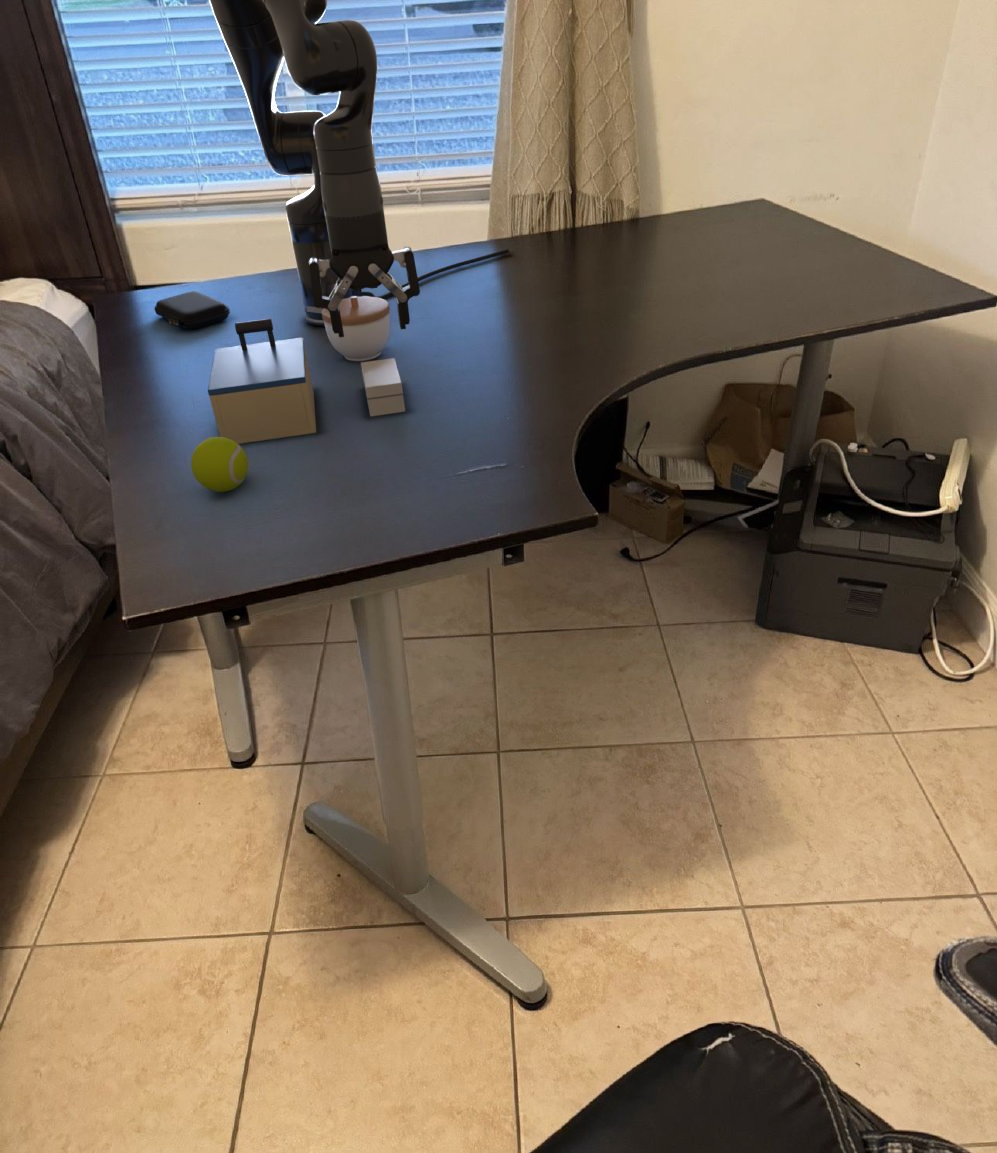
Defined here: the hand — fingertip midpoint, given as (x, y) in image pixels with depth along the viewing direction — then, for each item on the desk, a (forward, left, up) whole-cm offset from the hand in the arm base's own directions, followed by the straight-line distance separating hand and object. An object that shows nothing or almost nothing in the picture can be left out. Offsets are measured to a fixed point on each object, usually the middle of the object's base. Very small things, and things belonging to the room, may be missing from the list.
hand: (372, 331), depth 120 cm
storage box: (+15, -6, -11) cm, 19 cm away
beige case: (0, 0, -11) cm, 11 cm away
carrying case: (+13, -57, -11) cm, 59 cm away
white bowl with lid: (-5, -19, -11) cm, 22 cm away
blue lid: (+15, -6, -3) cm, 16 cm away
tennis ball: (+27, +11, -11) cm, 31 cm away
